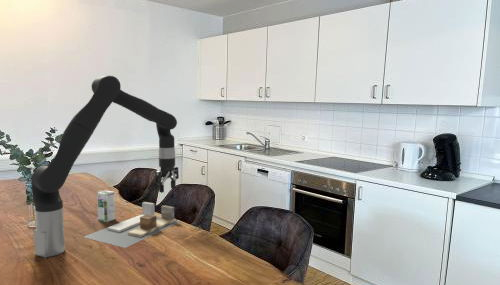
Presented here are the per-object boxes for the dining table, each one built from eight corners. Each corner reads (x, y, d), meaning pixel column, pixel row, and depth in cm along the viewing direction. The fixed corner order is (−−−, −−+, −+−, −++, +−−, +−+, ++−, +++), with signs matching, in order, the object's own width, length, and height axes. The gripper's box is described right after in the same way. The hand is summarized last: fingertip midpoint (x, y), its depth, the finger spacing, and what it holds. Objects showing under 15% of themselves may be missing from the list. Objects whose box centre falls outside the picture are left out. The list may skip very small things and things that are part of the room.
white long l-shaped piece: (119, 232, 161) (118, 216, 161) (107, 229, 164) (107, 214, 164) (156, 217, 183) (155, 203, 182) (145, 215, 186) (144, 201, 185)
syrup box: (97, 221, 177) (96, 192, 176) (107, 218, 182) (106, 189, 181) (105, 223, 175) (104, 193, 173) (115, 220, 180) (114, 191, 178)
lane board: (125, 249, 145) (125, 247, 145) (82, 238, 156) (82, 236, 156) (181, 223, 177) (181, 221, 177) (142, 215, 188) (142, 213, 188)
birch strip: (140, 237, 156) (139, 221, 155) (127, 234, 159) (127, 218, 158) (175, 221, 177) (175, 206, 177) (164, 218, 181) (163, 204, 180)
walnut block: (148, 229, 162) (148, 218, 162) (140, 228, 164) (139, 217, 164) (156, 226, 167) (156, 215, 166) (147, 224, 169) (147, 214, 168)
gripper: (163, 159, 166) (164, 194, 168) (182, 155, 179) (183, 188, 181) (150, 158, 169) (151, 192, 171) (170, 154, 182) (170, 186, 184)
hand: (167, 190), depth 176 cm, fingers open, 8 cm apart
